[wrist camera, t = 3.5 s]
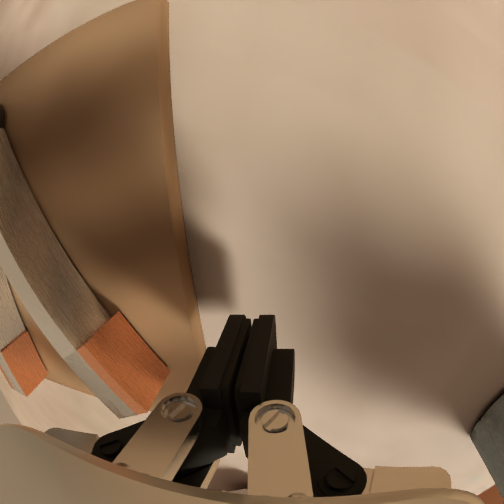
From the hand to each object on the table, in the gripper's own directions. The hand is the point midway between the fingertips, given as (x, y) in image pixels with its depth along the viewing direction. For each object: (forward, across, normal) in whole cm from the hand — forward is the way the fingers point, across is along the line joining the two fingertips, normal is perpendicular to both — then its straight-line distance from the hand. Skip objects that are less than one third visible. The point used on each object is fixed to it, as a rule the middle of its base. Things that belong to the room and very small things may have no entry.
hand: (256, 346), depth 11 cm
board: (+3, +12, -4) cm, 13 cm away
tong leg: (+1, +11, -5) cm, 12 cm away
